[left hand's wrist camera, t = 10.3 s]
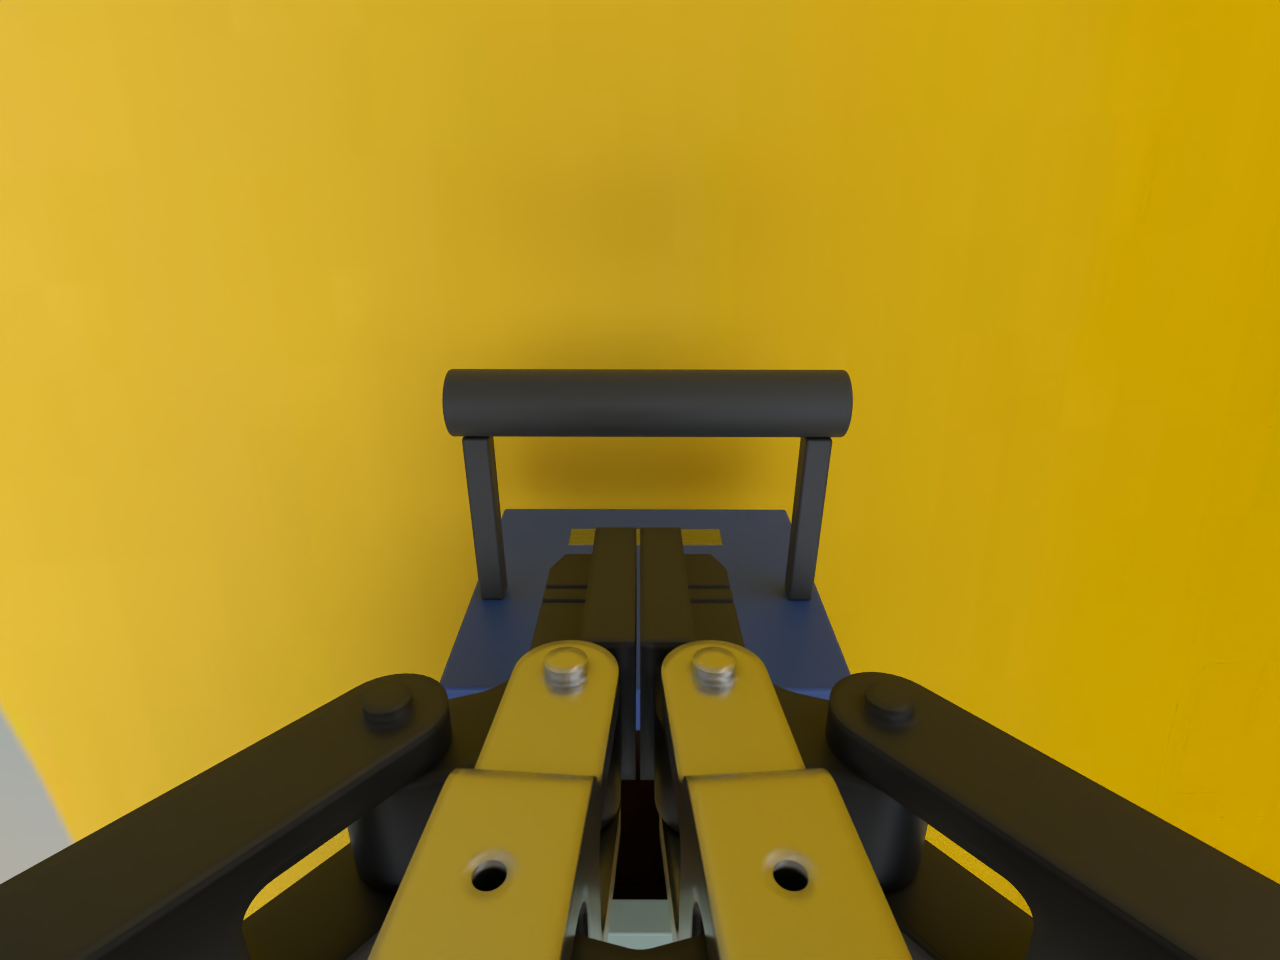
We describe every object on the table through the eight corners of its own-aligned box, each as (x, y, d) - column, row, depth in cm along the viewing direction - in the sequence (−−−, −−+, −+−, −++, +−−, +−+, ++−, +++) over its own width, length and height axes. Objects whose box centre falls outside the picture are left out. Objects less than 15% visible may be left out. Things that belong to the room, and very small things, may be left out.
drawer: (486, 322, 19) (392, 428, 12) (805, 323, 19) (906, 429, 12) (538, 868, 29) (503, 1107, 22) (748, 868, 29) (783, 1108, 22)
